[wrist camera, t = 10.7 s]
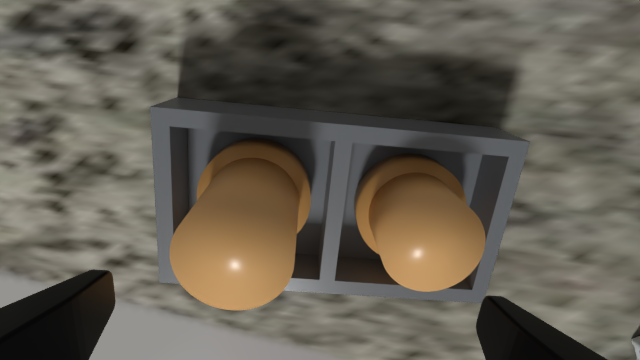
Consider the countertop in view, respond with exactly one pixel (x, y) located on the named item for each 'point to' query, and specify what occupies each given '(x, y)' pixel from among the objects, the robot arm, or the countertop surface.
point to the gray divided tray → (358, 194)
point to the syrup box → (637, 346)
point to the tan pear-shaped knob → (243, 226)
